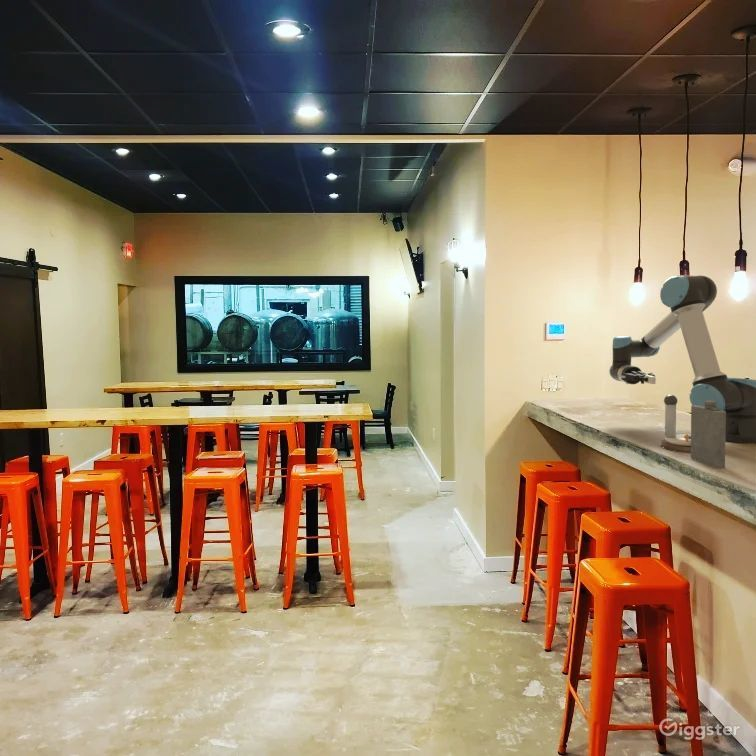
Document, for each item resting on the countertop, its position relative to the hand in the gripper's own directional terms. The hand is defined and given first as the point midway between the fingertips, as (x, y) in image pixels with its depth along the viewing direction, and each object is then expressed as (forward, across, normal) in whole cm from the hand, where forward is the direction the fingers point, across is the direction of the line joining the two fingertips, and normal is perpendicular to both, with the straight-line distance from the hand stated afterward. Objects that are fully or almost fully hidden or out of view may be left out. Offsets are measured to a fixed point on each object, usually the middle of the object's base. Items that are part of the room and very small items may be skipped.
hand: (653, 380), depth 237 cm
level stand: (+16, -6, -23) cm, 28 cm away
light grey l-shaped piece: (+16, -6, -21) cm, 27 cm away
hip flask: (+40, -1, -23) cm, 46 cm away
